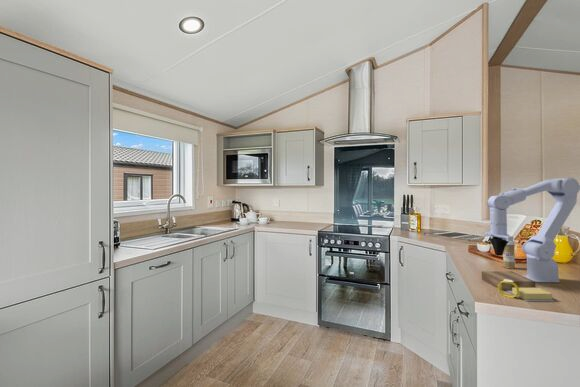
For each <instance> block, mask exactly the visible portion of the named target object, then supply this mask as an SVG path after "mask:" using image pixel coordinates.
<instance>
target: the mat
mask: <svg viewBox="0 0 580 387" xmlns="http://www.w3.org/2000/svg"><path fill="white" fill-rule="evenodd" d="M505 291H506V292H508V293H510V294H511V295H513V296H515V294H513V293H512V290H505ZM516 297H517V298H519V299H522V301H525V302H541V303H543V302H545V303H546V302H549V303H550V302H552V303H553V302H554V303H555V302H556V300H555V299H552V300H550V299H523V298H521V297H519V296H516Z"/></svg>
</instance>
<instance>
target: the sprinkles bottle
mask: <svg viewBox="0 0 580 387" xmlns="http://www.w3.org/2000/svg"><path fill="white" fill-rule="evenodd" d="M515 245H516V242H515V240H513V241H509V242H508V243H507V245H506V247H505V249H504V252H503V255H502V258H503V259H502V260H503V266H502V267H503V268H505V269H509V270H515V268H516V266H515V265H516V264H515V263H516V261H515V260H516V258H515V257H516V255H515V254H516V253H515V252H516V251H515Z"/></svg>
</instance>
